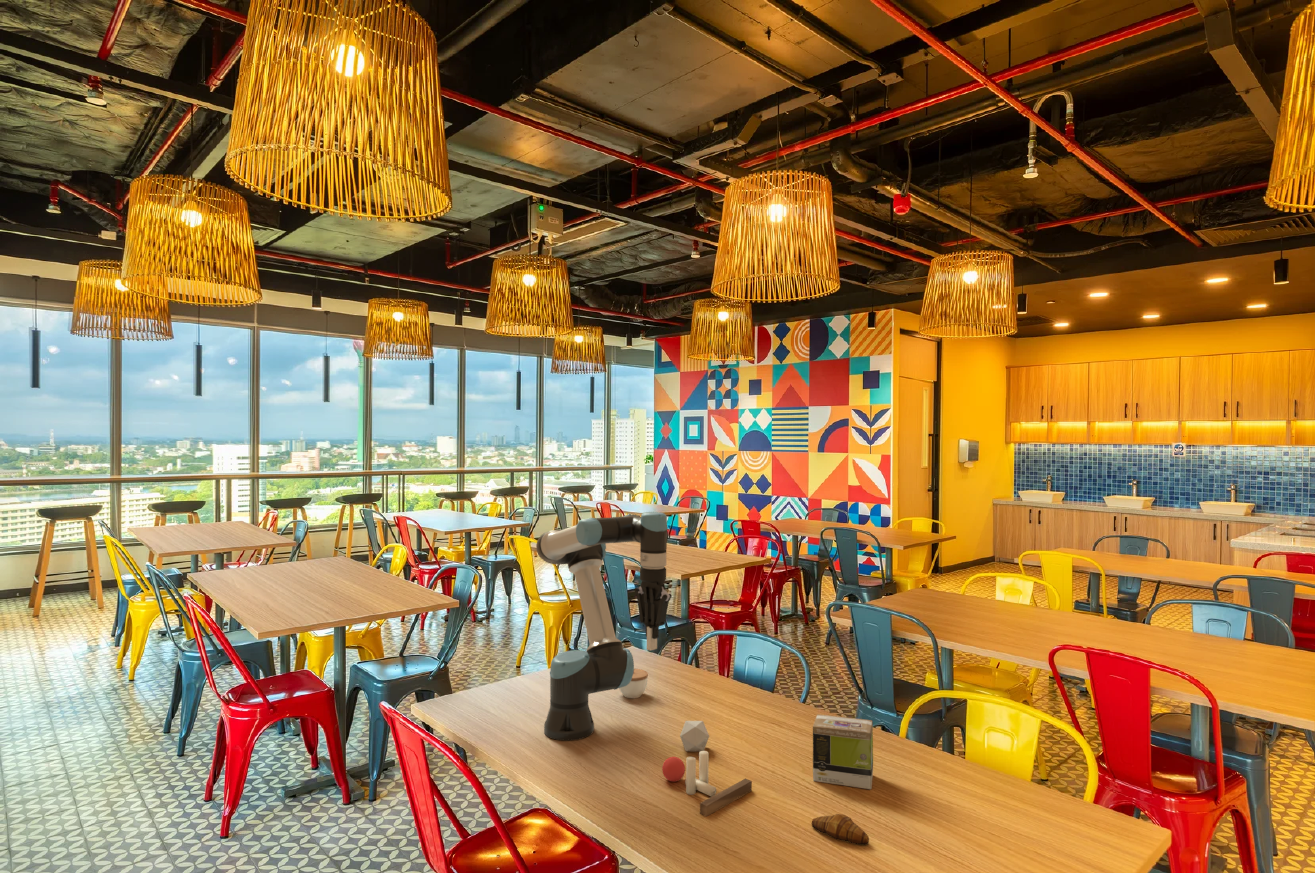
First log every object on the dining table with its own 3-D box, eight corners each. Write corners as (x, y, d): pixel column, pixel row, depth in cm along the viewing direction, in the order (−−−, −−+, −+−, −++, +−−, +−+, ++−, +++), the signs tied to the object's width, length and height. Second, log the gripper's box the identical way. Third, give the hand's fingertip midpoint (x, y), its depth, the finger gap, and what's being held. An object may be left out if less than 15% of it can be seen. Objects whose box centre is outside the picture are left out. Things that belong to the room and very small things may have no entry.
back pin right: (684, 792, 186) (684, 758, 186) (690, 789, 188) (690, 755, 188) (691, 795, 184) (691, 761, 184) (697, 792, 186) (697, 758, 186)
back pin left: (697, 785, 190) (697, 752, 190) (703, 782, 191) (703, 749, 191) (704, 788, 188) (704, 755, 188) (710, 785, 190) (710, 752, 190)
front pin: (685, 777, 189) (710, 788, 183) (691, 774, 191) (716, 785, 185) (685, 786, 189) (710, 798, 183) (691, 783, 191) (716, 794, 185)
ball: (677, 781, 187) (664, 788, 191) (693, 771, 191) (681, 778, 195) (666, 758, 190) (654, 766, 193) (682, 749, 194) (670, 757, 197)
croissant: (874, 839, 165) (874, 817, 165) (863, 853, 159) (863, 830, 159) (818, 821, 173) (818, 799, 173) (805, 833, 167) (806, 811, 167)
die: (699, 760, 206) (716, 729, 209) (673, 743, 208) (691, 712, 211) (697, 759, 214) (714, 729, 217) (672, 742, 215) (689, 712, 218)
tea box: (873, 774, 197) (873, 719, 197) (871, 791, 188) (871, 733, 188) (816, 765, 202) (816, 712, 202) (811, 781, 192) (812, 725, 193)
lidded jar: (647, 700, 252) (647, 673, 252) (616, 700, 252) (616, 673, 252) (648, 690, 262) (648, 664, 262) (618, 689, 262) (618, 663, 262)
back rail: (699, 813, 175) (700, 802, 175) (745, 788, 188) (745, 778, 188) (706, 816, 174) (706, 805, 174) (751, 790, 187) (751, 780, 187)
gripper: (628, 565, 211) (626, 646, 211) (660, 571, 202) (658, 656, 202) (646, 562, 217) (645, 641, 217) (678, 568, 207) (677, 651, 208)
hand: (651, 648), depth 210 cm, fingers closed
